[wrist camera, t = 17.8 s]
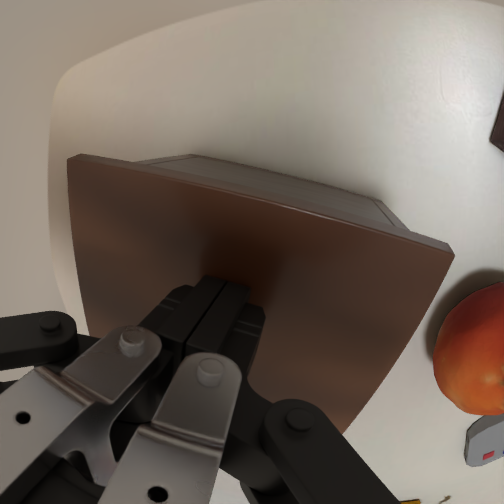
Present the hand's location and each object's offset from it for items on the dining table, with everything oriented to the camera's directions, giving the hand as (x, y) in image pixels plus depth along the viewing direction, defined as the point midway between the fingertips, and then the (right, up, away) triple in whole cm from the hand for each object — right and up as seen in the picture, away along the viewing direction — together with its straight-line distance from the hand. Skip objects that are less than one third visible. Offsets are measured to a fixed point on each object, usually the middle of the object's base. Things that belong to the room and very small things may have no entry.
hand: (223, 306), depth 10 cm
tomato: (+18, -4, +10) cm, 21 cm away
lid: (0, -2, +2) cm, 3 cm away
